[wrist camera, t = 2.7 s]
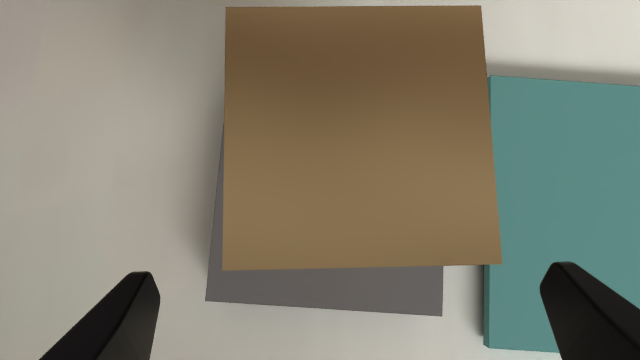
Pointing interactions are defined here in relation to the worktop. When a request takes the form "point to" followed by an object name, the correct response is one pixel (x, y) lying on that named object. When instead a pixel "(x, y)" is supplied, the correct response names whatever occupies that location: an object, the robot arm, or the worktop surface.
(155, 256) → the worktop surface
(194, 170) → the worktop surface
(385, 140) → the oak block
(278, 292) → the charcoal board
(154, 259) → the worktop surface
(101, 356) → the robot arm
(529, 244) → the teal mat
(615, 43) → the worktop surface
